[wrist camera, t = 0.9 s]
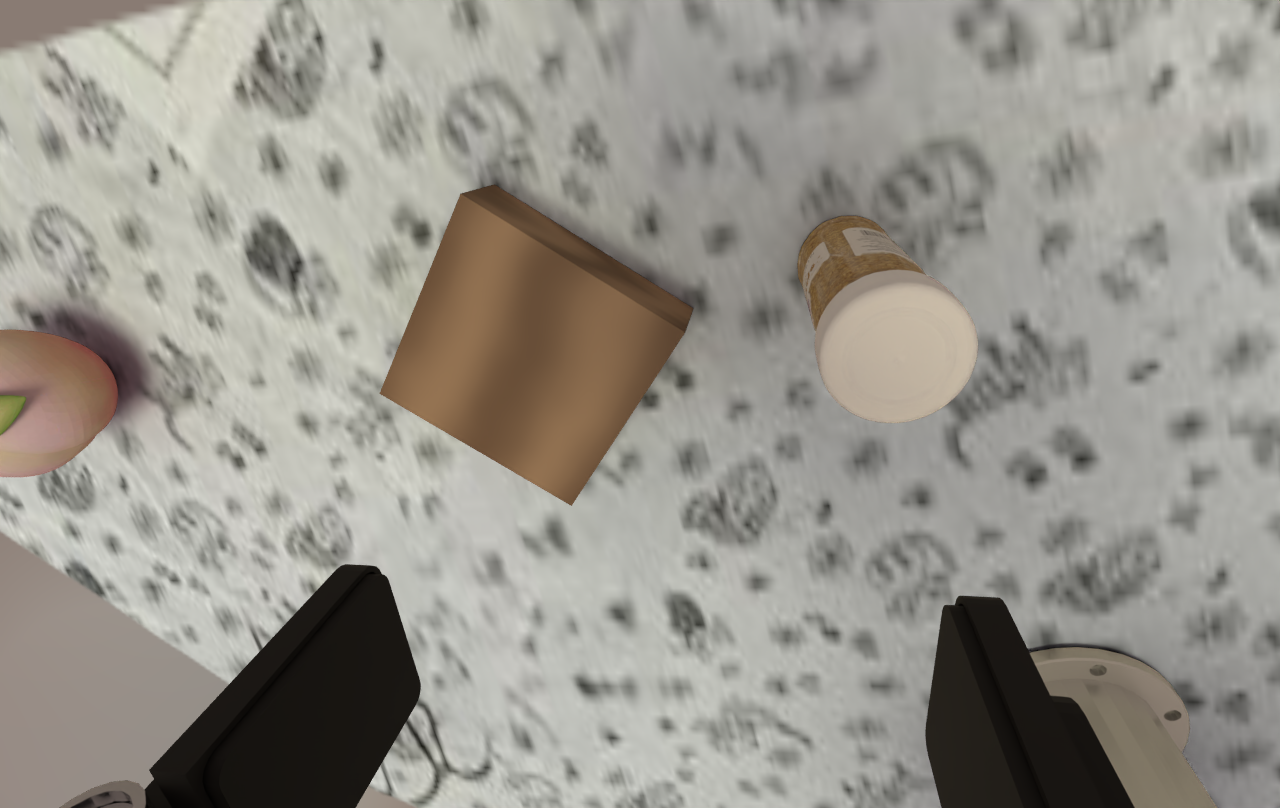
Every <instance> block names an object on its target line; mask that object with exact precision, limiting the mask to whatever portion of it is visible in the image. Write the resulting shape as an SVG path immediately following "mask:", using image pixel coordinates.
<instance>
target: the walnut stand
mask: <svg viewBox="0 0 1280 808" xmlns="http://www.w3.org/2000/svg"><path fill="white" fill-rule="evenodd" d="M692 311H693V308H692V307H690V306H689V305H687V304H685V303H684V302H682V301H681V300H679V299H677V298H676V297H674V296H673V295H671V294H669V293H668V292H666V291H665V290H663V289H661V288H660V287H658V286H656V285H655V284H653V283H652V282H650V281H648V280H647V279H645V278H644V277H642V276H640V275H639V274H637V273H636V272H634V271H632V270H631V269H629V268H628V267H626V266H624V265H623V264H621V263H620V262H618V261H616V260H615V259H613V258H612V257H610V256H608V255H607V254H605V253H603V252H602V251H600V250H599V249H597V248H595V247H594V246H592V245H591V244H589V243H587V242H586V241H584V240H583V239H581V238H579V237H578V236H576V235H575V234H573V233H571V232H570V231H568V230H567V229H565V228H563V227H562V226H560V225H559V224H557V223H555V222H554V221H552V220H550V219H549V218H547V217H546V216H544V215H542V214H541V213H539V212H538V211H536V210H534V209H533V208H531V207H530V206H528V205H526V204H525V203H523V202H522V201H520V200H518V199H517V198H515V197H514V196H512V195H510V194H509V193H507V192H505V191H504V190H502V189H501V188H499V187H497V186H496V185H491V186H487V187H484V188H480V189H476V190H473V191H469V192H465V193H462V194H460V197H459V199H458V202H457V204H456V207H455V209H454V212H453V214H452V216H451V219H450V221H449V224H448V226H447V229H446V231H445V234H444V236H443V239H442V241H441V244H440V246H439V249H438V251H437V253H436V256H435V258H434V261H433V263H432V266H431V268H430V271H429V273H428V276H427V278H426V281H425V283H424V286H423V288H422V291H421V293H420V295H419V298H418V300H417V303H416V305H415V308H414V310H413V313H412V315H411V318H410V320H409V323H408V325H407V328H406V330H405V332H404V335H403V337H402V340H401V342H400V345H399V347H398V350H397V352H396V355H395V357H394V360H393V362H392V365H391V367H390V369H389V372H388V374H387V377H386V379H385V382H384V384H383V387H382V389H381V392H380V394H381V395H383V396H385V397H386V398H388V399H390V400H391V401H393V402H395V403H397V404H398V405H400V406H402V407H403V408H405V409H407V410H409V411H410V412H412V413H414V414H415V415H417V416H419V417H421V418H422V419H424V420H426V421H427V422H429V423H431V424H433V425H434V426H436V427H438V428H439V429H441V430H443V431H445V432H446V433H448V434H450V435H451V436H453V437H455V438H456V439H458V440H460V441H462V442H463V443H465V444H467V445H468V446H470V447H472V448H474V449H475V450H477V451H479V452H480V453H482V454H484V455H486V456H487V457H489V458H491V459H492V460H494V461H496V462H498V463H499V464H501V465H503V466H504V467H506V468H508V469H510V470H511V471H513V472H515V473H516V474H518V475H520V476H521V477H523V478H525V479H527V480H528V481H530V482H532V483H533V484H535V485H537V486H539V487H540V488H542V489H544V490H545V491H547V492H549V493H551V494H552V495H554V496H556V497H557V498H559V499H561V500H563V501H564V502H566V503H568V504H569V505H571V506H572V504H573V503H574V501H575V500H576V498H577V497H578V495H579V494H580V492H581V490H582V489H583V487H584V486H585V484H586V483H587V481H588V480H589V478H590V477H591V475H592V474H593V472H594V471H595V469H596V468H597V466H598V465H599V463H600V461H601V460H602V458H603V457H604V455H605V454H606V452H607V451H608V449H609V448H610V446H611V445H612V443H613V442H614V440H615V439H616V437H617V436H618V434H619V432H620V431H621V429H622V428H623V426H624V425H625V423H626V422H627V420H628V419H629V417H630V416H631V414H632V413H633V411H634V410H635V408H636V407H637V405H638V403H639V402H640V400H641V399H642V397H643V396H644V394H645V393H646V391H647V390H648V388H649V387H650V385H651V384H652V382H653V381H654V379H655V378H656V376H657V374H658V373H659V371H660V370H661V368H662V367H663V365H664V364H665V362H666V361H667V359H668V358H669V356H670V355H671V353H672V352H673V350H674V349H675V347H676V345H677V344H678V342H679V341H680V339H681V338H682V336H683V335H684V333H685V331H686V328H687V325H688V322H689V320H690V317H691V314H692Z"/></svg>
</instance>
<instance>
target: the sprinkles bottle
mask: <svg viewBox="0 0 1280 808" xmlns="http://www.w3.org/2000/svg"><path fill="white" fill-rule="evenodd" d="M798 276H799V280H800V282H801V284H802V287H803V289H804V293H805V297H806V301H807V304H808V307H809V311H810V314H811V318H812V322H813V326H814V329H815V331H816V334H815V352H816V358H817V362H818V367H819V370H820V373H821V376H822V379H823V382H824V384H825V386H826V388H827V390H828V391H829V393H830V394H831V395H832V397H833V398H834V399H835V400H836V401H837V402H838V403H839V404H840V405H841V406H842V407H843V408H845V409H846V410H848V411H849V412H851V413H853V414H855V415H857V416H859V417H861V418H864V419H867V420H871V421H876V422H883V423H900V422H907V421H912V420H916V419H919V418H922V417H925V416H927V415H929V414H931V413H934V412H936V411H937V410H939V409H940V408H942V407H944V406H945V405H946V404H948V403H949V402H950V401H951V400H952V399H954V398H955V397H956V396H957V395H958V394H959V392H960V391H961V390H962V389H963V387H964V386H965V385H966V383H967V382H968V380H969V378H970V376H971V373H972V372H973V369H974V366H975V363H976V359H977V353H978V338H977V334H976V329H975V325H974V323H973V320H972V319H971V317H970V315H969V313H968V312H967V310H966V309H965V308H964V307H963V305H962V304H961V303H960V302H959V300H958V299H957V298H956V297H955V296H954V295H953V294H952V293H951V292H950V291H949V290H948V289H947V288H946V287H945V286H944V285H942V284H941V283H940V282H938V281H937V280H935V279H933V278H931V277H929V276H927V275H926V274H925V273H924V272H923V270H922V269H921V268H920V267H919V266H918V265H917V264H916V263H915V262H914V261H913V260H912V259H911V258H910V257H909V256H908V255H907V254H906V253H905V252H904V251H903V250H902V249H901V248H900V247H899V246H898V245H897V244H896V243H895V242H894V241H893V240H892V239H890V238H889V237H888V235H887V234H886V233H885V231H884V230H883V229H882V228H881V227H879V226H878V225H877V224H876V223H875V222H873V221H871V220H869V219H865V218H862V217H858V216H845V217H844V216H840V217H838V218H835V219H831V220H829V221H826V222H824V223H822V224H821V225H819V226H818V227H817V228H816V229H815V230H814V231H813V232H812V233H811V234H810V235H809V236H808V238H807V239H806V241H805V242H804V244H803V246H802V247H801V250H800V253H799V258H798Z"/></svg>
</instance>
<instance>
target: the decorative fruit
mask: <svg viewBox="0 0 1280 808" xmlns="http://www.w3.org/2000/svg"><path fill="white" fill-rule="evenodd" d="M117 400H118V390H117V384H116V381H115V378H114V376H113V374H112V372H111V370H110V369H109V367H108V366H107V364H106V363H105V362H104V361H103V360H102V359H101V358H100V357H99V356H98V355H97V354H96V353H94V352H93V351H92V350H90V349H88V348H87V347H85V346H83V345H81V344H79V343H77V342H74V341H71V340H69V339H66V338H63V337H60V336H56V335H52V334H47V333H41V332H34V331H24V330H0V477H28V476H35V475H40V474H44V473H47V472H50V471H53V470H55V469H57V468H59V467H61V466H62V465H64V464H66V463H67V462H69V461H70V460H71V459H73V458H74V457H75V456H76V455H77V454H78V453H80V452H81V451H82V450H83V449H84V448H86V447H87V446H88V445H89V444H90V443H91V441H92V440H93V439H94V438H95V436H96V435H97V434H98V433H99V432H101V431H102V430H103V429H104V428H105V427H106V426H107V424H108V423H109V422H110V420H111V419H112V417H113V415H114V413H115V410H116V406H117Z"/></svg>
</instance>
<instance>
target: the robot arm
mask: <svg viewBox="0 0 1280 808" xmlns="http://www.w3.org/2000/svg"><path fill="white" fill-rule="evenodd" d="M420 690H421V684H420V679H419V676H418V673H417V670H416V666H415V663H414V660H413V657H412V654H411V650H410V647H409V644H408V641H407V638H406V634H405V631H404V628H403V625H402V622H401V618H400V615H399V612H398V609H397V606H396V602H395V599H394V596H393V593H392V590H391V586H390V583H389V580H388V578H387V577H386V576H385V575H382V574H381V572H380V570H379V569H378V568H377V567H376V566H368V565H348V564H345V565H342V566H340V567H339V568H338V569H337V570H336V571H335V572H334V573H333V574H332V575H331V576H330V577H329V578H328V579H327V580H326V581H325V582H324V583H323V584H322V586H321V587H320V588H319V589H318V590H317V591H316V592H315V593H314V594H313V595H312V596H311V597H310V598H309V599H308V601H307V602H306V603H305V604H304V605H303V606H302V607H301V608H300V609H299V610H298V611H297V612H296V613H295V614H294V616H293V617H292V618H291V619H290V620H289V621H288V622H287V623H286V624H285V625H284V626H283V627H282V628H281V629H280V631H279V632H278V633H277V634H276V635H275V636H274V637H273V638H272V639H271V640H270V641H269V642H268V643H267V644H266V646H265V647H264V648H263V649H262V650H261V651H260V652H259V653H258V654H257V655H256V656H255V657H254V658H253V659H252V661H251V662H250V663H249V664H248V665H247V666H246V667H245V668H244V669H243V670H242V671H241V672H240V673H239V674H238V676H237V677H236V678H235V679H234V680H233V681H232V682H231V683H230V684H229V685H228V686H227V687H226V688H225V689H224V691H223V692H222V693H221V694H220V695H219V696H218V697H217V698H216V699H215V700H214V701H213V702H212V703H211V704H210V706H209V707H208V708H207V709H206V710H205V711H204V712H203V713H202V714H201V715H200V716H199V717H198V718H197V719H196V721H195V722H194V723H193V724H192V725H191V726H190V727H189V728H188V729H187V730H186V731H185V732H184V733H183V734H182V735H181V737H180V738H179V739H178V740H177V741H176V742H175V743H174V744H173V745H172V746H171V747H170V748H169V749H168V750H167V752H166V753H165V754H164V755H163V756H162V757H161V758H160V759H159V760H158V761H157V762H156V763H155V764H154V765H153V767H152V768H151V769H150V770H149V771H150V773H151V774H152V776H153V777H154V780H153V781H152V782H151V783H150V784H149V785H148V787H147V788H146V789H145V790H144V789H143V788H142V787H141V786H140V785H139V784H138V783H135V782H131V781H127V780H125V781H115V782H109V783H107V784H104V785H100V786H98V787H95V788H92V789H90V790H88V791H86V792H84V793H82V794H81V795H79V796H77V797H75V798H73V799H71V800H70V801H68V802H67V803H65V804H64V805H63V806H61V807H60V808H356V806H357V804H358V803H359V801H360V799H361V797H362V796H363V794H364V792H365V791H366V789H367V787H368V786H369V784H370V782H371V780H372V779H373V777H374V775H375V774H376V772H377V770H378V769H379V767H380V765H381V763H382V762H383V760H384V758H385V757H386V755H387V753H388V751H389V750H390V748H391V746H392V745H393V743H394V741H395V740H396V738H397V736H398V734H399V733H400V731H401V729H402V728H403V726H404V724H405V722H406V721H407V719H408V717H409V716H410V714H411V712H412V711H413V709H414V707H415V705H416V703H417V701H418V699H419V695H420ZM1189 731H1190V724H1189V715H1188V712H1187V710H1186V708H1185V706H1184V703H1183V701H1182V700H1181V698H1180V697H1179V696H1178V694H1177V693H1176V691H1175V690H1174V689H1173V687H1172V686H1171V684H1170V683H1169V682H1168V681H1167V680H1166V679H1165V678H1164V677H1163V676H1161V675H1160V674H1159V673H1158V672H1157V671H1156V670H1154V669H1152V668H1151V667H1149V666H1147V665H1146V664H1144V663H1142V662H1141V661H1138V660H1136V659H1133V658H1131V657H1128V656H1125V655H1123V654H1119V653H1115V652H1110V651H1106V650H1102V649H1092V648H1081V647H1071V648H1053V649H1047V650H1041V651H1035V652H1031V653H1029V651H1028V649H1027V647H1026V645H1025V643H1024V641H1023V639H1022V637H1021V635H1020V633H1019V631H1018V629H1017V627H1016V625H1015V623H1014V621H1013V619H1012V617H1011V614H1010V612H1009V610H1008V608H1007V606H1006V605H1005V603H1004V601H1003V600H1002V599H1000V598H994V597H974V596H958V598H957V599H956V603H955V605H944V607H943V610H942V617H941V624H940V631H939V638H938V645H937V652H936V659H935V666H934V673H933V680H932V687H931V694H930V701H929V708H928V715H927V722H926V745H927V751H928V756H929V760H930V764H931V768H932V772H933V775H934V779H935V783H936V787H937V791H938V795H939V799H940V803H941V807H942V808H1218V807H1217V806H1216V805H1215V803H1214V802H1213V800H1212V799H1211V797H1210V796H1209V794H1208V793H1207V791H1206V790H1205V788H1204V787H1203V785H1202V783H1201V782H1200V780H1199V779H1198V777H1197V776H1196V774H1195V773H1194V771H1193V770H1192V768H1191V767H1190V765H1189V764H1188V762H1187V760H1186V759H1185V757H1184V756H1183V754H1182V751H1183V749H1184V748H1185V746H1186V744H1187V741H1188V736H1189Z"/></svg>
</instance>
